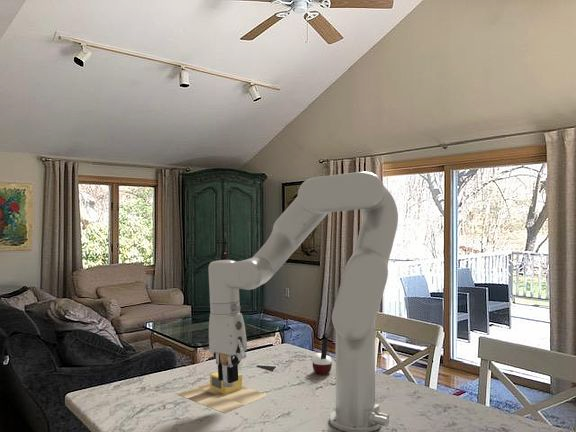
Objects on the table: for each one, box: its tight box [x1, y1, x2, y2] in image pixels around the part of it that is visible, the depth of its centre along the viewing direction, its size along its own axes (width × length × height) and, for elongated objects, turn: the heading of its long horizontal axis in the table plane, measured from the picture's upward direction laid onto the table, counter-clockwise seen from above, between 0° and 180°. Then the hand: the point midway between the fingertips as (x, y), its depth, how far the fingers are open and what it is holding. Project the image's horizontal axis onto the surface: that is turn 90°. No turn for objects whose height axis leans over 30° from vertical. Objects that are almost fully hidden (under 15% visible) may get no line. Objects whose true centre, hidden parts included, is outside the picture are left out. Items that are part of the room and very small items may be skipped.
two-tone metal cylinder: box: [220, 353, 234, 387], centre depth 119 cm, size 3×3×9 cm
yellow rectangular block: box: [209, 371, 243, 394], centre depth 133 cm, size 7×6×4 cm
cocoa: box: [311, 338, 333, 376], centre depth 149 cm, size 10×6×12 cm, turn 168°
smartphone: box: [255, 363, 279, 373], centre depth 150 cm, size 7×15×1 cm, turn 168°
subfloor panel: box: [176, 382, 269, 414], centre depth 128 cm, size 20×16×1 cm
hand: (228, 379), depth 119 cm, fingers closed on two-tone metal cylinder, 2 cm apart
